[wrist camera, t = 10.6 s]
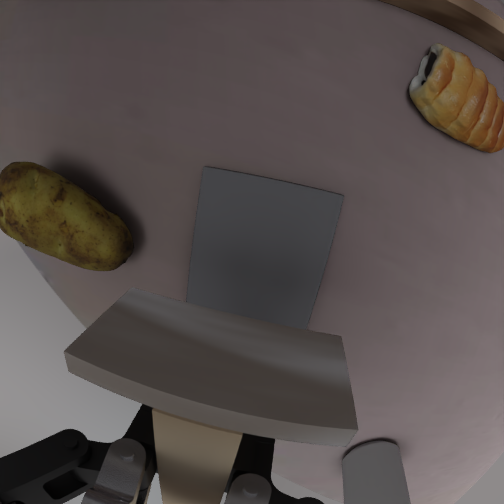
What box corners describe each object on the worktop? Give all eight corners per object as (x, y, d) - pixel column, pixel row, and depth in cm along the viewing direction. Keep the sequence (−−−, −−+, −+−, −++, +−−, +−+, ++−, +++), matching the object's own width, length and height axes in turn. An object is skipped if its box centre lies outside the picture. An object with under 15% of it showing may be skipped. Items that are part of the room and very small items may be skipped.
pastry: (507, 110, 16) (533, 108, 12) (484, 173, 18) (510, 179, 15) (425, 42, 16) (445, 26, 12) (397, 106, 18) (416, 98, 14)
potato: (101, 289, 26) (50, 331, 18) (32, 189, 24) (-27, 206, 16) (154, 237, 23) (99, 275, 16) (72, 127, 21) (6, 128, 14)
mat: (184, 336, 26) (182, 340, 26) (205, 166, 21) (203, 166, 20) (293, 362, 25) (293, 366, 25) (342, 194, 20) (344, 195, 20)
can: (362, 433, 28) (373, 521, 17) (409, 439, 28) (427, 516, 16) (330, 463, 30) (331, 541, 19) (376, 468, 30) (384, 539, 19)
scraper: (273, 474, 14) (265, 537, 10) (143, 441, 14) (115, 496, 10) (341, 336, 10) (358, 432, 6) (132, 287, 11) (61, 352, 7)
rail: (362, -5, 15) (373, -29, 11) (364, -18, 14) (374, -43, 11) (520, 72, 14) (545, 66, 10) (519, 58, 13) (544, 51, 10)
